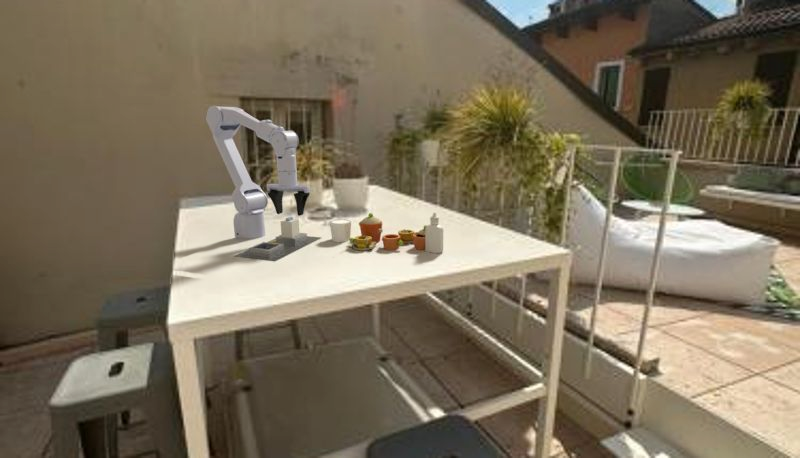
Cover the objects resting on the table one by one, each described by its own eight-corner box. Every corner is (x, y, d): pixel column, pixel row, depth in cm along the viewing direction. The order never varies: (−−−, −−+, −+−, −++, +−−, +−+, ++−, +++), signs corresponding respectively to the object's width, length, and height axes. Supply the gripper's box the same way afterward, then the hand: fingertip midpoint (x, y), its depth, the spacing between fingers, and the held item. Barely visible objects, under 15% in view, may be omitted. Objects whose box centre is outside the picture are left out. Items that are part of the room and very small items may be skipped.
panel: (233, 259, 121) (232, 249, 120) (285, 237, 145) (285, 228, 144) (275, 264, 117) (274, 254, 116) (322, 240, 140) (321, 231, 140)
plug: (282, 242, 134) (280, 218, 132) (289, 239, 138) (287, 216, 136) (293, 243, 133) (291, 219, 131) (299, 240, 137) (298, 216, 135)
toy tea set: (348, 252, 129) (347, 221, 126) (355, 238, 144) (354, 210, 141) (434, 252, 128) (435, 221, 126) (432, 239, 143) (432, 211, 141)
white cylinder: (348, 245, 134) (347, 224, 133) (327, 244, 136) (326, 223, 134) (354, 240, 141) (354, 219, 139) (335, 239, 142) (334, 218, 140)
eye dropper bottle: (436, 248, 131) (437, 210, 128) (444, 253, 126) (445, 213, 123) (423, 249, 130) (424, 211, 127) (430, 254, 125) (431, 214, 122)
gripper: (259, 171, 129) (262, 215, 133) (300, 173, 125) (303, 218, 128) (273, 169, 136) (276, 210, 139) (313, 170, 131) (315, 213, 134)
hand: (290, 214), depth 134 cm, fingers open, 7 cm apart
